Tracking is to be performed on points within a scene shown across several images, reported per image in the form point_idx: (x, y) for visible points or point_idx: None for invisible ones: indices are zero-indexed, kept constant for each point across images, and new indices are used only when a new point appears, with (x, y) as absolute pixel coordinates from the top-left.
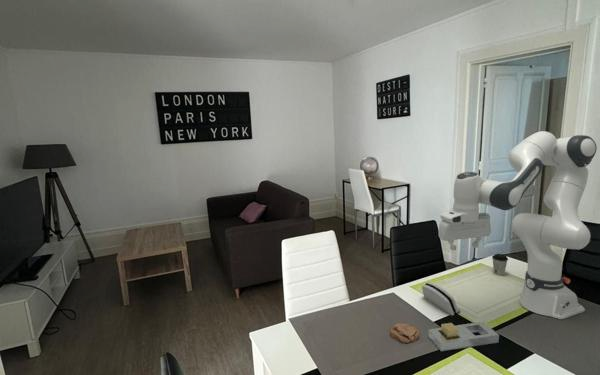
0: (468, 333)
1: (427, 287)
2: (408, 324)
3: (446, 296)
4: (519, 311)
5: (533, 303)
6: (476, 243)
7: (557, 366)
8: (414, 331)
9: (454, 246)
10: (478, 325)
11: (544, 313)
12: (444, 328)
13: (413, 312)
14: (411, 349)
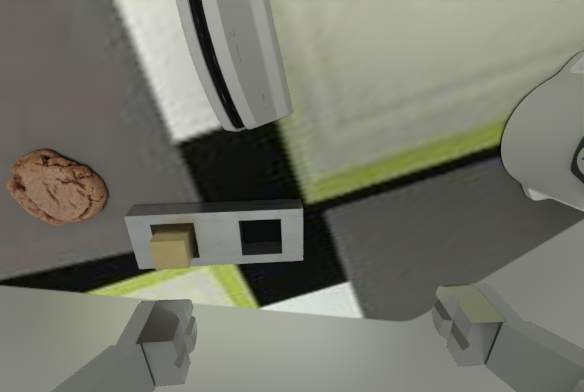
0: (229, 246)
1: (179, 8)
2: (68, 175)
3: (236, 109)
4: (471, 143)
5: (526, 159)
6: (486, 358)
7: (356, 312)
8: (81, 209)
9: (155, 385)
10: (280, 217)
11: (516, 177)
12: (153, 254)
13: (121, 77)
14: (73, 240)
